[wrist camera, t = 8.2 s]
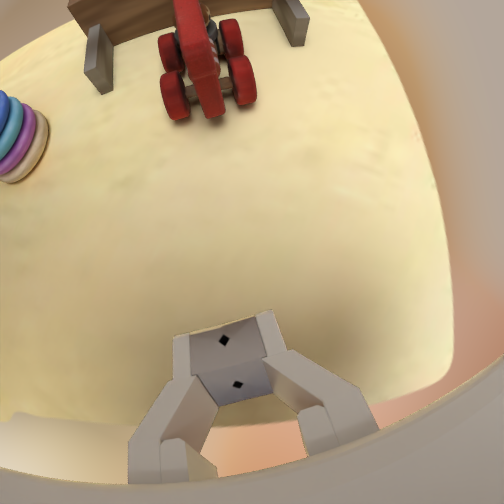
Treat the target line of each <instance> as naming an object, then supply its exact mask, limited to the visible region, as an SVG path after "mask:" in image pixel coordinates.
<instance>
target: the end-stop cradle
mask: <svg viewBox="0 0 504 504" xmlns="http://www.w3.org/2000/svg"><path fill="white" fill-rule="evenodd" d="M198 1H199V2H201V3H203V4H204V5H206V6H207V8H208V9H209V11H210V15H211V17H212V16H217V15H223V14H228V13H234V12H241V11H248V10H256V9H265V8H272V9H273V11H274V12H275V14H276V16H277V18H278V20H279V22H280V24H281V26H282V28H283V30H284V32H285V34H286V36H287V38H288V40H289V42H290V44H291V46H292V47H296V46H304V43H305V38H306V34H307V29H308V24H309V20H310V17H309V15H308V14H307V12H306V11H305V9H304V7H303V6H302V4H301V3H300V1H299V0H198ZM67 8H68V9H69V11H70V12H71V14H72V15H73V17H74V18H75V20H76V21H77V23H78V24H79V26H80V27H81V29H82V30H83V32H84V33H85V35H86V36H87V38H88V39H87V47H86V55H85V64H84V74H85V75H86V76H87V77H88V79H89V80H90V81H91V82H92V83H93V85H94V86H95V87H96V88H97V90H98V91H99V92H100V93H101V94H102V95H103V94H105V93H107V92H110V91H112V90H113V46H115V45H118V44H120V43H123V42H125V41H128V40H131V39H133V38H136V37H139V36H142V35H145V34H148V33H151V32H154V31H157V30H161V29H164V28H167V27H171V26H174V25H173V22H172V16H173V13H174V6H173V0H69V3H68V6H67Z"/></svg>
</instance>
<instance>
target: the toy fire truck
mask: <svg viewBox="0 0 504 504" xmlns="http://www.w3.org/2000/svg"><path fill="white" fill-rule="evenodd" d="M173 6H174V13H173V16H172V22H173V25H174V27H175V28H176V30H175V33H173V32H171V33H168V34H164V35H161V36H160V37H159V38H158V48H159V53H160V57H161V60H162V63H163V66H164V69H165V71H166V72H167V73H165V74H163V75H162V76H161V78H160V88H161V94H162V98H163V102H164V105H165V108H166V110H167V113H168V115H169V117H170V118H171V119H172V120H178V119H181V118H185V117H187V116H189V114H190V106H189V101H188V98H191V97H195V96H198V98H199V101H200V104H201V106H202V109H203V112H204V115H205V117H206V118H207V119H209V118H213V117H216V116H219V115H222V114H224V113H225V112H226V109H225V105H224V100H223V96H222V92H221V90H222V89H228V88H232V90H233V93H234V97H235V100H236V102H237V104H239V105H243V104H248V103H252V102H255V101H256V98H257V90H256V82H255V78H254V73H253V69H252V66H251V63H250V61H249V59H248V57H247V56H245V55H244V49H243V41H242V36H241V31H240V28H239V24H238V22H237V20H236V19H227V20H222V21H220V22H219V29H217V26H216V23H215V22H214V21H213V20H212V19H210V18H211V15H210V11H209V9H208V8H207V6H206V5H204V4H203V3H201V2H199V1H198V0H173ZM220 54H225V58H226V59H227V60H228V72H229V77H224V78H219V75H220V72H221V69H220V65H219V61H218V57H217V55H220ZM182 56H183V57H182ZM183 58H184V61H185V64H186V68H187V72H188V76H189V78H190V80H191V81H192V82H193V84H194V85H191V86H187V87H185V85H184V81H183V79H182V76H181V75H180V74H179V72H181V71H183V70H184V62H183ZM218 78H219V79H218Z"/></svg>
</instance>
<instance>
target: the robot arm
mask: <svg viewBox="0 0 504 504" xmlns="http://www.w3.org/2000/svg"><path fill="white" fill-rule="evenodd" d="M255 316H256V317H255ZM258 326H259V327H258ZM271 393H274V395H276V396H277V397H278V398H279V399H280V400H282V401H283V402H284V403H285V404H286V405H288V406H289V407H290V408H291V409H293V410H294V411H295V412H296V413H297V414H298V416H297V419H298V423H299V427H300V431H301V435H302V440H303V444H304V448H305V451H306V454H307V458H304V459H301V460H297V461H294V462H290V463H286V464H283V465H279V466H275V467H271V468H267V469H262V470H258V471H253V472H249V473H243V474H238V475H233V476H227V477H220V478H218V474H217V468H216V466H214V465H213V464H212V463H210V462H209V461H208V460H206V459H205V458H204V457H203V456H201V455H200V452H201V449H202V447H203V444H204V442H205V440H206V437H207V435H208V433H209V431H210V428H211V426H212V424H213V421H214V419H215V417H216V414H217V412H218V409H219V408H218V407H219V406H223V405H227V404H231V403H235V402H239V401H242V400H246V399H251V398H255V397H259V396H263V395H267V394H271ZM0 504H504V354H503V355H501V356H500V357H499V358H498V359H496V360H495V361H494V362H493V363H491V364H490V365H489V366H487V367H486V368H485V369H483V370H482V371H481V372H479V373H478V374H476V375H475V376H473V377H472V378H471V379H469V380H468V381H466V382H465V383H463V384H462V385H460V386H459V387H457V388H456V389H454V390H452V391H451V392H449V393H448V394H446V395H444V396H443V397H441V398H440V399H438V400H437V401H434V402H433V403H431V404H429V405H428V406H426V407H424V408H422V409H420V410H419V411H417V412H415V413H413V414H411V415H409V416H407V417H405V418H403V419H402V420H399V421H397V422H395V423H393V424H391V425H389V426H387V427H385V428H383V429H379V428H378V425H377V423H376V421H375V419H374V417H373V415H372V413H371V411H370V409H369V407H368V405H367V403H366V401H365V399H364V397H363V395H362V393H361V391H360V389H359V388H358V387H356V386H354V385H353V384H351V383H349V382H347V381H346V380H344V379H342V378H340V377H339V376H337V375H335V374H333V373H332V372H330V371H328V370H327V369H325V368H323V367H322V366H320V365H318V364H316V363H315V362H313V361H311V360H310V359H308V358H306V357H305V356H303V355H302V354H300V353H298V352H297V351H295V350H293V349H292V350H287V348H286V345H285V342H284V339H283V337H282V334H281V331H280V328H279V326H278V323H277V320H276V317H275V315H274V312H273V311H272V310H267V311H264V312H261V313H258V314H255V315H251V316H248V317H245V318H241V319H238V320H234V321H231V322H227V323H224V324H221V325H217V326H213V327H209V328H204V329H200V330H196V331H192V332H189V333H184V334H180V335H175V336H174V338H173V380H171V381H168V382H167V384H166V385H165V387H164V388H163V390H162V391H161V393H160V394H159V396H158V397H157V399H156V400H155V402H154V403H153V405H152V406H151V408H150V410H149V411H148V413H147V414H146V416H145V417H144V419H143V420H142V422H141V423H140V425H139V426H138V428H137V429H136V431H135V433H134V434H133V436H132V437H131V439H130V440H129V442H128V484H101V483H88V482H78V481H69V480H61V479H55V478H48V477H43V476H37V475H32V474H27V473H22V472H18V471H14V470H10V469H6V468H2V467H0Z"/></svg>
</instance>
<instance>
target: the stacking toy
mask: <svg viewBox="0 0 504 504" xmlns="http://www.w3.org/2000/svg"><path fill="white" fill-rule="evenodd" d="M47 136H48V125H47V121H46V119H45V117H44V116H43V114H42V113H40V112H39V111H36V110H32V108H31V107H30V106H28V105H27V104H24V103H20V101H19V100H18V99H16V98H14V97H8V96H7V95H6V93H5V92H3V91H2V90H0V180H1V181H3V182H6V183H12V182H16V181H18V180H20V179H22V178H23V177H25V176H26V175H27V174H28V173H29V172H30V171H31V170H32V169H33V167H34V166H35V165H36V163H37V162H38V160H39V158H40V157H41V155H42V153H43V150H44V148H45V145H46V141H47Z"/></svg>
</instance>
